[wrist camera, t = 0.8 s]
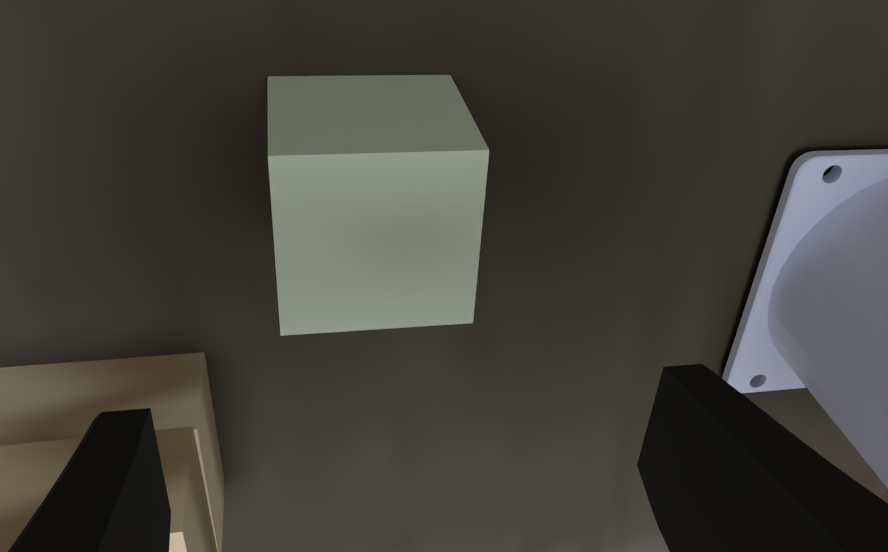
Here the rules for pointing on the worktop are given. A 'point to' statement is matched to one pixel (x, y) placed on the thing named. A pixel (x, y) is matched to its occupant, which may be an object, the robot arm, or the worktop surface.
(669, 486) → the robot arm
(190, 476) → the upper slab
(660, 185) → the worktop surface
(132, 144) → the worktop surface
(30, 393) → the lower slab
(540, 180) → the worktop surface
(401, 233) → the green cube
